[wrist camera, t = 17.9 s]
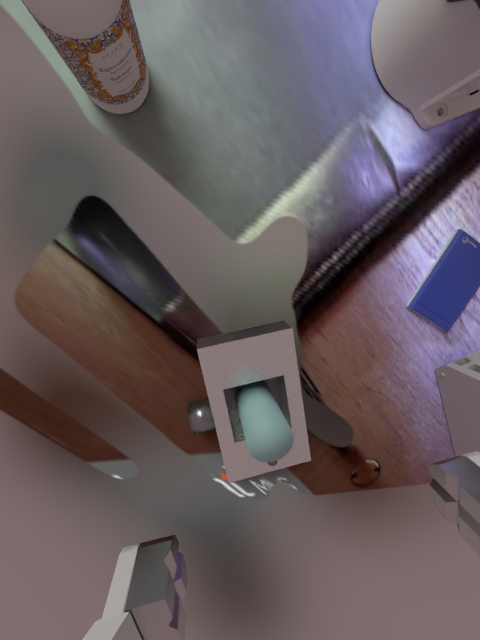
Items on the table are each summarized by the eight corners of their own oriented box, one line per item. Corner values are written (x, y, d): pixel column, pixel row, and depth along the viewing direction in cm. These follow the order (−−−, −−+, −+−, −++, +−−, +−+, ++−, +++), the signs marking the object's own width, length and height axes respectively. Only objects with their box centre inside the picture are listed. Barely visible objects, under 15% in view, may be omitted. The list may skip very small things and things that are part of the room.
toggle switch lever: (267, 375, 40) (290, 415, 30) (275, 417, 42) (298, 467, 32) (232, 384, 39) (243, 427, 30) (240, 426, 41) (254, 479, 31)
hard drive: (461, 228, 39) (410, 307, 40) (500, 258, 40) (449, 332, 42) (452, 229, 40) (402, 305, 42) (489, 258, 42) (440, 329, 44)
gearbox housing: (283, 320, 39) (293, 328, 35) (301, 442, 44) (311, 461, 40) (174, 344, 37) (171, 355, 33) (206, 467, 42) (207, 490, 38)
